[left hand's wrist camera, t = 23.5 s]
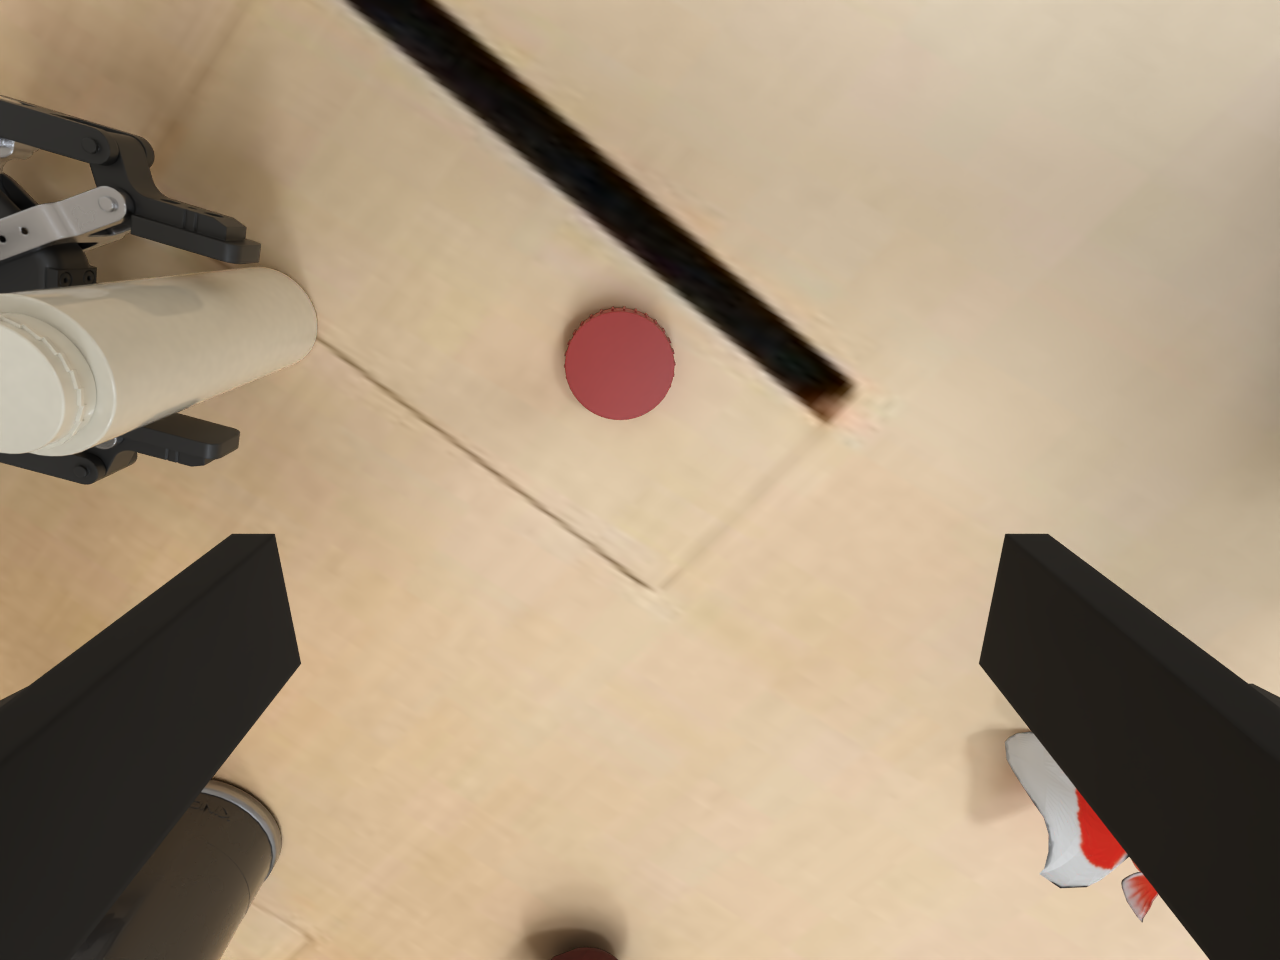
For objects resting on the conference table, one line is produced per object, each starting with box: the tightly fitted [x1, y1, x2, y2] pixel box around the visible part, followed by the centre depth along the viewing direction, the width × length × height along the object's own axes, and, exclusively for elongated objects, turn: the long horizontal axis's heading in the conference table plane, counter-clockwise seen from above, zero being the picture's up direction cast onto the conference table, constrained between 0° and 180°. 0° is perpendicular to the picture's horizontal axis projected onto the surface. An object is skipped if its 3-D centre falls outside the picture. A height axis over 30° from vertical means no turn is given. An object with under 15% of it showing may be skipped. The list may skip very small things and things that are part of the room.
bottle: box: [0, 267, 317, 456], centre depth 26 cm, size 5×5×16 cm
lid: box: [564, 306, 675, 420], centre depth 34 cm, size 5×6×2 cm
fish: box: [1005, 732, 1158, 923], centre depth 41 cm, size 11×16×10 cm
